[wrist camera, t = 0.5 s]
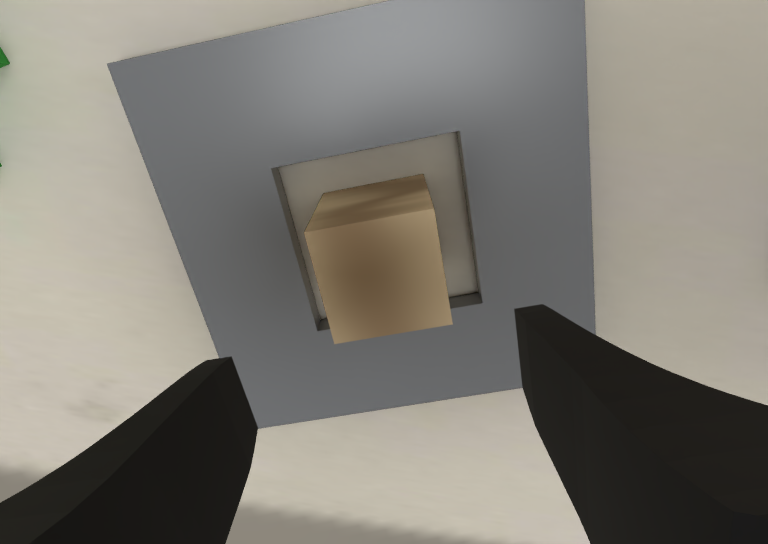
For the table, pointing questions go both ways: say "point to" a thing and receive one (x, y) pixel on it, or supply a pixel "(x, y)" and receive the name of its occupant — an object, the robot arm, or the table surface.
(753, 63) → the table surface
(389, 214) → the oak block
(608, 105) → the table surface
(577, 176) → the pocket board
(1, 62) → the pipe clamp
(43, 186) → the table surface
